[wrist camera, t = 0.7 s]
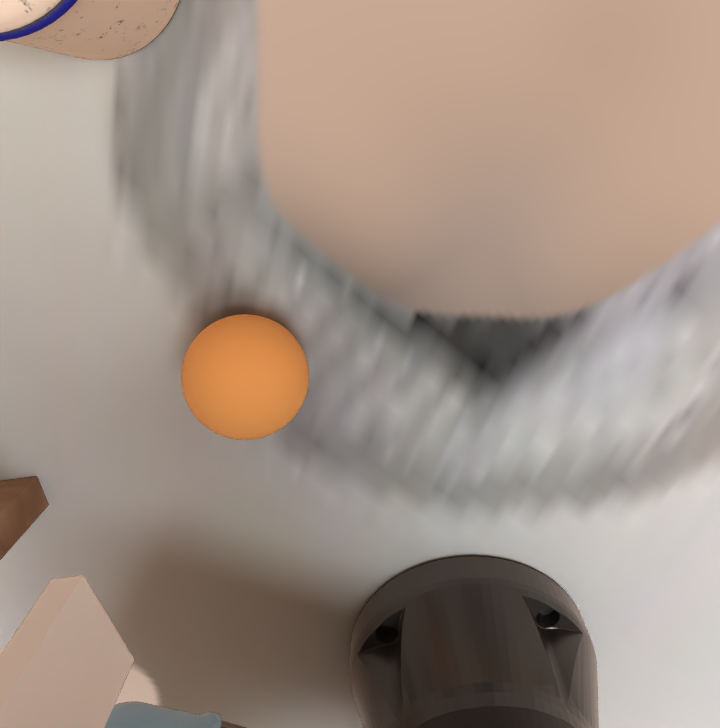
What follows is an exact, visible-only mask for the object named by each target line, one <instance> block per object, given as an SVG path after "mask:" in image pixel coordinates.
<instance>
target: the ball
mask: <svg viewBox="0 0 720 728" xmlns="http://www.w3.org/2000/svg"><path fill="white" fill-rule="evenodd" d="M181 380H182V389H183V394H184V397H185V399H186V402H187V404H188V406H189V408H190V410H191V411H192V413H193V414H194V415H195V417H196V418H197V419H198V420H199V421H200V422H201V423H202V424H203V425H204V426H206V427H207V428H209V429H210V430H212V431H214V432H215V433H217V434H220V435H222V436H225V437H229V438H233V439H242V440H247V439H256V438H261V437H264V436H267V435H270V434H272V433H274V432H276V431H278V430H279V429H281V428H282V427H284V426H285V425H286V424H287V423H289V422H290V421H291V420H292V418H293V417H294V416H295V415H296V414H297V412H298V411H299V409H300V408H301V406H302V404H303V401H304V399H305V397H306V393H307V389H308V382H309V371H308V364H307V360H306V357H305V354H304V352H303V349H302V348H301V346H300V344H299V343H298V341H297V340H296V339H295V337H294V336H293V335H292V334H291V333H290V332H289V331H288V330H287V329H286V328H284V327H283V326H282V325H280V324H278V323H277V322H275V321H273V320H270V319H268V318H265V317H262V316H257V315H248V314H241V315H233V316H229V317H226V318H223V319H220V320H218V321H216V322H214V323H212V324H210V325H209V326H208V327H206V328H205V329H204V330H203V331H201V332H200V333H199V334H198V335H197V336H196V338H195V339H194V340H193V342H192V343H191V345H190V347H189V348H188V350H187V352H186V355H185V358H184V361H183V366H182V372H181Z"/></svg>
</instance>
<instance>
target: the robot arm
mask: <svg viewBox="0 0 720 728" xmlns="http://www.w3.org/2000/svg"><path fill="white" fill-rule="evenodd" d="M133 662H134V658H133V656H132V655H131V653H130V651H129V650H128V648H127V646H126V645H125V643H124V642H123V640H122V638H121V637H120V635H119V633H118V632H117V630H116V628H115V627H114V625H113V623H112V622H111V620H110V618H109V617H108V615H107V614H106V612H105V610H104V609H103V607H102V605H101V604H100V602H99V600H98V599H97V597H96V595H95V594H94V592H93V590H92V589H91V587H90V586H89V584H88V582H87V581H86V579H85V577H84V576H83V575H80V576H73V577H65V578H58V579H51V580H50V582H49V583H48V585H47V586H46V588H45V589H44V591H43V592H42V594H41V595H40V597H39V598H38V600H37V601H36V603H35V604H34V606H33V607H32V609H31V610H30V612H29V613H28V615H27V616H26V618H25V619H24V621H23V622H22V624H21V625H20V627H19V628H18V629H17V631H16V632H15V634H14V635H13V637H12V638H11V640H10V641H9V643H8V644H7V646H6V647H5V649H4V650H3V652H2V653H1V655H0V728H245V727H242V726H238V725H235V724H231V723H228V722H224V721H221V717H220V715H219V714H216V713H212V712H205V713H202V714H201V715H196V714H192V713H187V712H183V711H178V710H174V709H169V708H165V707H161V706H156V705H152V704H147V703H143V702H124V703H119V704H116V705H115V702H116V700H117V698H118V696H119V693H120V691H121V689H122V687H123V684H124V682H125V680H126V678H127V676H128V673H129V671H130V669H131V667H132V664H133ZM350 681H351V688H352V692H353V696H354V699H355V703H356V706H357V709H358V712H359V715H360V718H361V721H362V725H363V728H599V723H598V686H597V661H596V656H595V651H594V647H593V644H592V641H591V638H590V636H589V633H588V631H587V629H586V626H585V624H584V621H583V619H582V617H581V614H580V612H579V610H578V608H577V606H576V605H575V603H574V602H573V600H572V599H571V598H570V596H569V595H568V594H567V593H566V592H565V591H564V590H563V589H562V588H561V587H560V586H559V585H558V584H557V583H555V582H554V581H553V580H551V579H550V578H548V577H547V576H545V575H544V574H542V573H540V572H538V571H536V570H534V569H532V568H530V567H527V566H524V565H522V564H519V563H515V562H512V561H508V560H504V559H498V558H491V557H476V556H472V557H455V558H448V559H442V560H438V561H434V562H430V563H427V564H424V565H421V566H418V567H416V568H413V569H411V570H409V571H407V572H405V573H403V574H401V575H399V576H397V577H396V578H394V579H393V580H391V581H390V582H388V583H387V584H386V585H384V586H383V587H382V588H381V589H380V590H378V591H377V592H376V593H375V594H374V595H373V596H372V597H371V599H370V600H369V601H368V602H367V604H366V605H365V606H364V608H363V609H362V611H361V613H360V615H359V616H358V619H357V621H356V623H355V626H354V629H353V633H352V639H351V655H350Z"/></svg>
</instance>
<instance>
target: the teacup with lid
mask: <svg viewBox="0 0 720 728" xmlns="http://www.w3.org/2000/svg"><path fill="white" fill-rule="evenodd" d="M178 3H179V0H0V41H5V40H6V41H10V42H15V43H19V44H23V45H27V46H31V47H36V48H40V49H44V50H48V51H53V52H57V53H61V54H65V55H69V56H74V57H78V58H83V59H91V60H107V59H114V58H119V57H123V56H126V55H129V54H131V53H134V52H136V51H137V50H139V49H141V48H143V47H144V46H146V45H147V44H148V43H150V42H151V41H152V40H153V39H154V38H156V37H157V36H158V35H159V33H160V32H161V31H162V30H163V29H164V28H165V26H166V25H167V23H168V22H169V21H170V19H171V17H172V15H173V14H174V12H175V10H176V7H177V5H178Z"/></svg>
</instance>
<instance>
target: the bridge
mask: <svg viewBox="0 0 720 728" xmlns="http://www.w3.org/2000/svg"><path fill="white" fill-rule="evenodd" d="M47 506H48V502H47V500H46V498H45V495H44V493H43V490H42V488H41V486H40V483H39V481H38V478H37V476H35V477H27V478H19V479H11V480H4V481H0V560H1V559H2V558H3V556H4V555H5V554H6V553H7V552H8V551H9V550H10V548H11V547H12V546H13V545H14V544H15V543H16V542H17V540H18V539H19V538H20V537H21V536H22V535H23V534H24V532H25V531H26V530H27V529H28V528H29V527H30V526H31V524H32V523H33V522H34V521H35V520H36V519H37V518H38V516H39V515H40V514H41V513H42V512H43V511H44V509H45V508H46V507H47Z"/></svg>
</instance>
